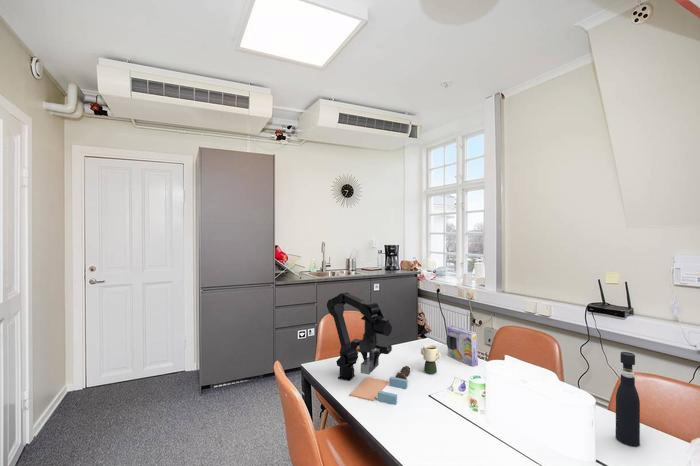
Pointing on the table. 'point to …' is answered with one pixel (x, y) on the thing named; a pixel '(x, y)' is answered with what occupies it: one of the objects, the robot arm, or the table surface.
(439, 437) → the table surface
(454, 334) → the cake pan box
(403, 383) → the vise jaws
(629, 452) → the table surface
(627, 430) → the black bottle
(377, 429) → the table surface
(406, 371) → the brown oblong lump
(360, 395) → the mat
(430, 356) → the character mug
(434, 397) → the table surface
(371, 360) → the crook bar
